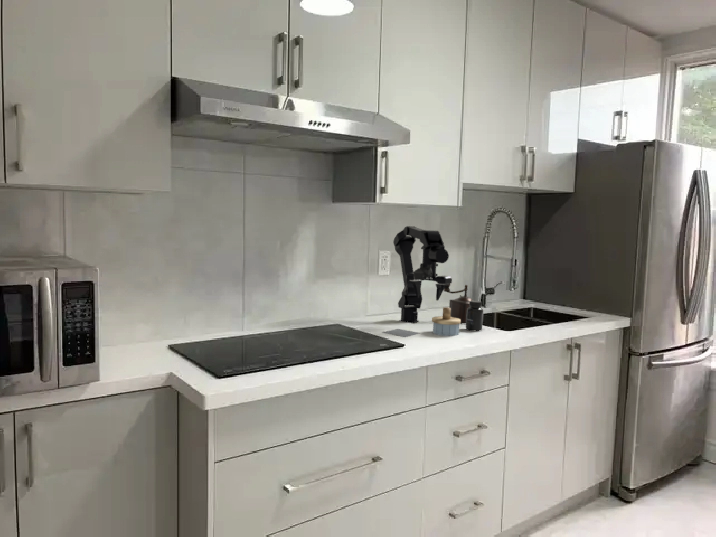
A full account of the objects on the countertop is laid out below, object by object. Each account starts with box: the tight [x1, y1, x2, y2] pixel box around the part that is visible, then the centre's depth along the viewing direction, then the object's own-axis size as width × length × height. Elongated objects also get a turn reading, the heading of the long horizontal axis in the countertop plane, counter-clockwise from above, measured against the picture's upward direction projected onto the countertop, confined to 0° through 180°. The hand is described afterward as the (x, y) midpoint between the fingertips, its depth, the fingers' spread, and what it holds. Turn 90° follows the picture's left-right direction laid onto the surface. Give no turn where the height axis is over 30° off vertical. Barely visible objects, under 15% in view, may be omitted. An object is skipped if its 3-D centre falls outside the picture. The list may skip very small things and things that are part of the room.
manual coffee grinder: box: [443, 283, 475, 324], centre depth 247 cm, size 16×11×18 cm
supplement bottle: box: [465, 300, 484, 332], centre depth 228 cm, size 7×7×12 cm
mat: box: [381, 328, 421, 338], centre depth 214 cm, size 11×11×1 cm
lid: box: [431, 306, 462, 325], centre depth 216 cm, size 11×11×6 cm
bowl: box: [432, 322, 460, 337], centre depth 216 cm, size 10×10×5 cm
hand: (427, 299), depth 225 cm, fingers open, 9 cm apart
